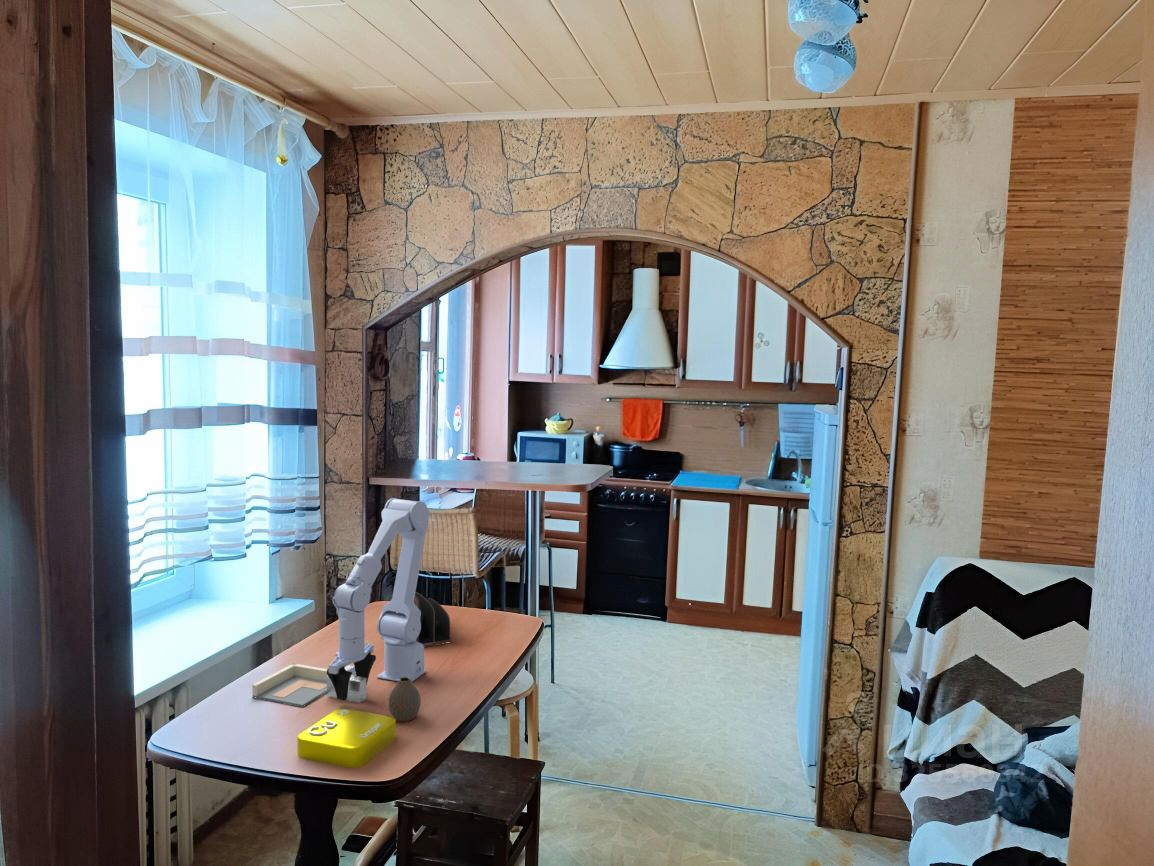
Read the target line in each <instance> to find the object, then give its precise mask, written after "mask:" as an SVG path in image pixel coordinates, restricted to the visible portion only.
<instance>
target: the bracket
mask: <svg viewBox="0 0 1154 866" xmlns="http://www.w3.org/2000/svg"><path fill="white" fill-rule="evenodd" d="M345 669H346V671H349V672H352V675H351V677H350V680H349V685H348V696H347V699H346V700H345V701H347V700H349V701H348V702H352V701H356V702H355V703H358V702H361V701H362V702H364V701H365V700H366V699H367V685H366V678H365V677H359V676H356V671H355V666H354V665H351V664H349V665H348V666H346V667H345ZM327 696H329V697H328V698H331V697H335V698H334V699H336V698H337V695H336V692H335V688H334V686H333V683H332V681H331V680H330V678H329V677H328V676H327V693H326V697H327ZM365 698H366V699H365ZM364 699H365V700H364ZM363 700H364V701H363ZM362 702H361V703H362Z"/></svg>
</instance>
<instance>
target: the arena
mask: <svg viewBox="0 0 1154 866" xmlns="http://www.w3.org/2000/svg"><path fill="white" fill-rule="evenodd" d="M328 669H329V668H324V667H323V668H322V667H317V666H310V665H306V664H299V663H291V664H290V665H287V666H286V667H284V668H281V669H280V670H278V671H276V672H274V673H272V674H270V675H268V676H266V677H265V678H263V679H261V680H259V681H257V682H254V684H252V689H251V690H252V698H253V697H256V698H255V699H257V698H261V699H260V700H262V699H265V700H264V701H267V700H270V701H269V702H272V701H276V702H275V703H277V702H280V703H279V704H282V703H286V704H285V705H288V704H291V705H290V706H293V705H296V706H295V707H298V706H301V707H300V708H304V707H305V706H304V705H306V704H307V705H309V704H310V703H309V702H311V701H312V702H314V701H315V699H316V698H317V699H319V698H321V697H322V696H323V694H324V695H325V694H327V693H326V692H327V676H328V675H327V670H328ZM321 695H322V696H321ZM318 697H319V698H318ZM317 699H316V700H317ZM313 700H314V701H313ZM312 702H311V703H312ZM308 703H309V704H308ZM307 705H306V706H307ZM303 706H304V707H303Z"/></svg>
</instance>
